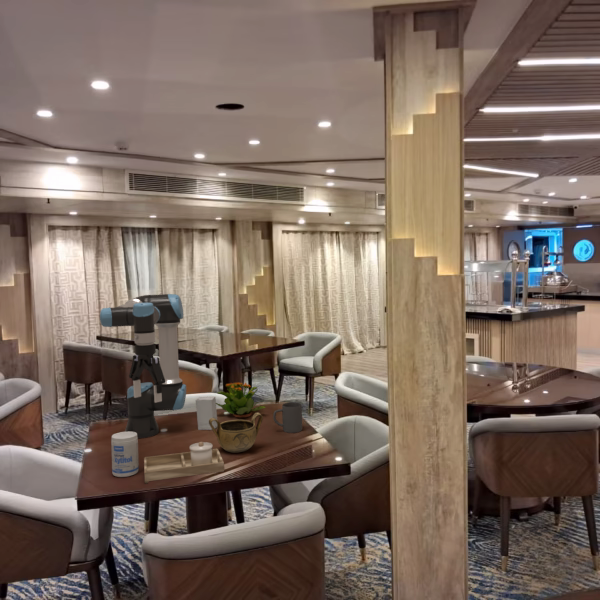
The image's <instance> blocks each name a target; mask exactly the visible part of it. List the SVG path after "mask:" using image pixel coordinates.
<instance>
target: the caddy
mask: <svg viewBox="0 0 600 600" xmlns="http://www.w3.org/2000/svg"><path fill="white" fill-rule="evenodd" d="M143 462H144V463H143V465H144V466H143V467H144V470H143V471H144V484H145V485H146V484H149V482H152V481H161V480H167V479H175V478H183V477H191V476H198V475H206V474H216V473H221V472H225V463H224V459H223V457H222V455H221V453H220V451H219V448H212V463H211V464H204V465H196V466H191V451H186V452H185V451H184V452H179V453H170V454H160V455H152V456H145V457H143Z"/></svg>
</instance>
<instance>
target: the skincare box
mask: <svg viewBox="0 0 600 600" xmlns="http://www.w3.org/2000/svg"><path fill="white" fill-rule="evenodd" d="M216 403H217V401H216V396H199V397H198V398H196V399H195V406H196V407H195V408H196V419H197V429H198V431H203V430H204V431H206V430H207V431H209V430H210V431H213V430H212V428H211V426H210V424H209V419H210V418H215V419H217V420H218V413H217V411H218V410H217V404H216ZM212 425H213V427H214V428H215V429H217V427H218V426H217V422H216V421H215V420H214V421H212Z"/></svg>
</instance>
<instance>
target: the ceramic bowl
mask: <svg viewBox="0 0 600 600" xmlns="http://www.w3.org/2000/svg"><path fill="white" fill-rule="evenodd" d="M257 417H258V418H257ZM256 419H258V420H257V423H256ZM214 420H215V421H216V422H217V426H218V427H217V428H214V427H213V425H212V421H214ZM263 420H264V416H263V415H262V414H261V413H260V412H259V411H258V412H257V411H256V412H255V413H254V414H253V415H252V416H251V420H247V419H230V420H226V421H222V422H221V423H220V421H219V420H218V418H217V419H215V418H210V419H209V424H210V426H211V428H212V430H211V431H213V433H214V435H215V436H216V439H217V442H218V444H219V446H220V447H221V448H222V449H223V450H225V451H226V452H228V453H233V454H235V453H237V454H239V453H242V452H247V451H248V450H249V449H251V448H252V447H253V445H254V444H255V443H256V439H257V436H258V433H259V431H260V428H261V426H262V422H263Z"/></svg>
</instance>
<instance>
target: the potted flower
mask: <svg viewBox="0 0 600 600" xmlns="http://www.w3.org/2000/svg"><path fill="white" fill-rule="evenodd" d="M225 387H226V388H227V389H226V390H227V391H228V392H225V391H223V390H220V391H217V395H221V396H224V397H225V398H224V400H223V402H224V403H223V404H221V403H217V402H216V406H219V407H220V408H222V410H223V411H225V412H227V413H229V414H231V415H232V416H233V417H234V418H239V419H240V418H247V417H248V418H249V417H250V416H251V417H252V414H253V412H257V411H260V410H263V409H266V408H267V406H266V407H265V406H261V405H260V406H256V405H257V404H258V402H256V403H255V398H253V397H254V395H255V393H256V392H257V391H258V387H257V386H253V387H252V386H251V385H250V384H248V383H247V382H244V384H243V382H238V381H237V382H233V383H232V382H230V383H226V384H225ZM249 388H250V389H249ZM242 389H243V390H242ZM248 389H249V391H247V390H248ZM246 392H247V393H246ZM255 406H256V407H255Z"/></svg>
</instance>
